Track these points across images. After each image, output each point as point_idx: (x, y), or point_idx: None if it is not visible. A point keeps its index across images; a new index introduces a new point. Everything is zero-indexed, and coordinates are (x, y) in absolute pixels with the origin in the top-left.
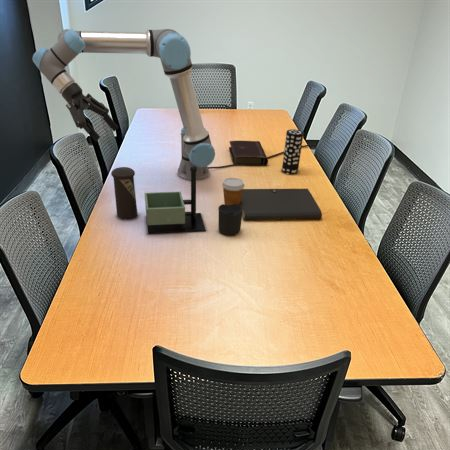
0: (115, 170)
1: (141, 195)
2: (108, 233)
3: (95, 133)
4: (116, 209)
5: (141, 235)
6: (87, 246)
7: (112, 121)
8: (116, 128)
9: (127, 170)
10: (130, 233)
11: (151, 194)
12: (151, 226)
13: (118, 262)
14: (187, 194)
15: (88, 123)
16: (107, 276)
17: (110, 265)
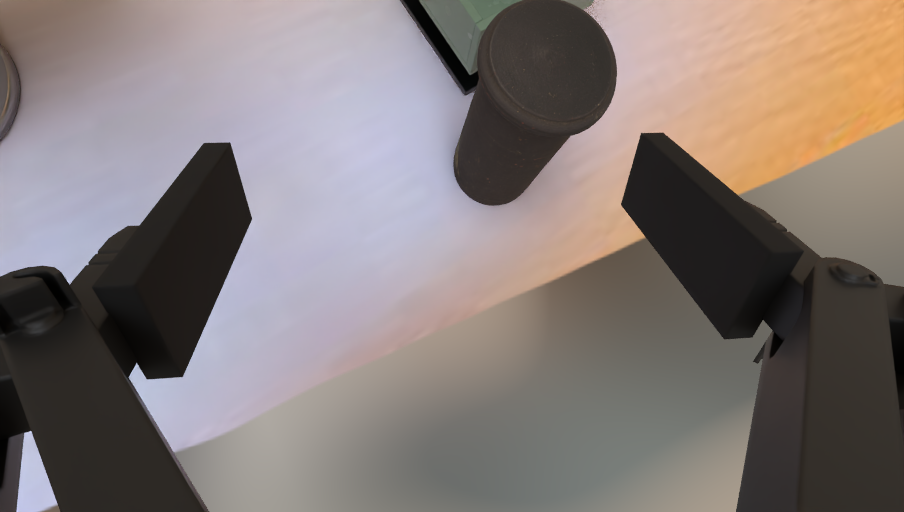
0: (577, 96)
1: (291, 211)
2: None
3: (694, 161)
4: (525, 188)
5: None
6: (744, 172)
7: (196, 191)
8: (234, 166)
9: (543, 27)
10: None
11: (469, 4)
12: None
13: (765, 34)
14: (188, 33)
15: (770, 245)
16: (836, 26)
17: (790, 47)
